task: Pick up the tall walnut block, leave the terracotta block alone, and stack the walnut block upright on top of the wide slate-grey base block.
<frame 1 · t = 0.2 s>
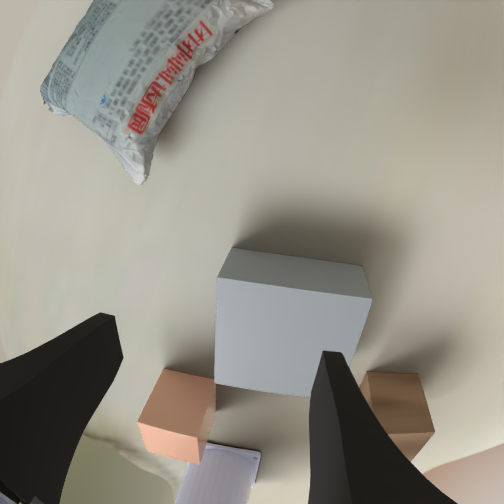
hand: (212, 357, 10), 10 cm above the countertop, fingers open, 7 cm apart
walnut block: (383, 391, 23), on the countertop
packaged food: (159, 61, 16), on the countertop
terracotta block: (190, 391, 26), on the countertop
slate base block: (288, 309, 21), on the countertop
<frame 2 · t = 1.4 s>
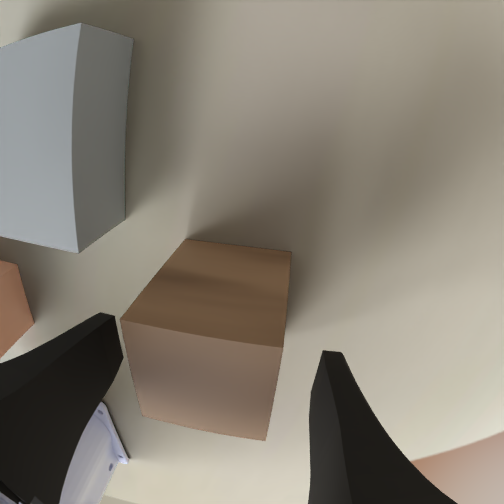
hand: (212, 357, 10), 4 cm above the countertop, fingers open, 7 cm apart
walnut block: (234, 291, 15), on the countertop
terracotta block: (5, 288, 17), on the countertop
slate base block: (60, 130, 13), on the countertop
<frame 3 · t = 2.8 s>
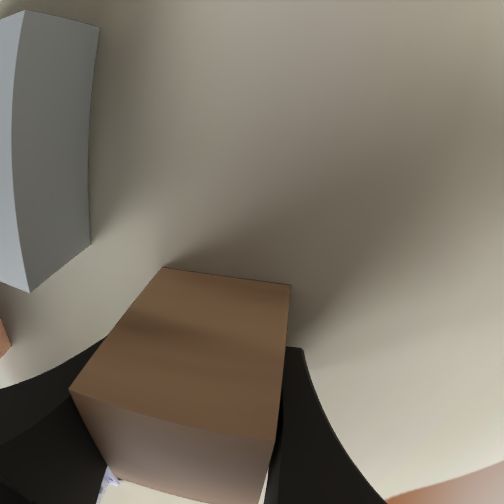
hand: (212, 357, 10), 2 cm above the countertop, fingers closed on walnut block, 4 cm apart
walnut block: (222, 328, 12), on the countertop, touching gripper
slate base block: (21, 137, 10), on the countertop
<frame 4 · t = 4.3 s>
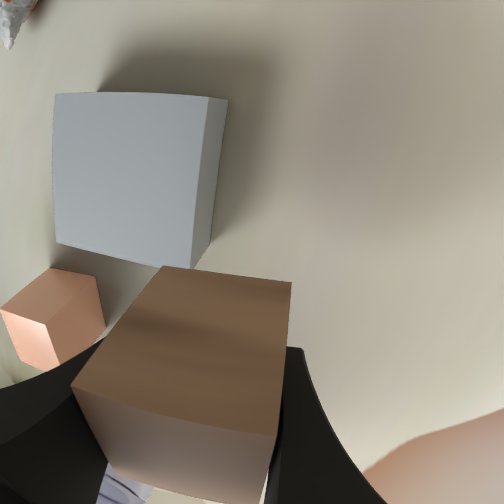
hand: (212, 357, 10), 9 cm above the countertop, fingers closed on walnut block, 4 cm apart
walnut block: (223, 326, 12), point 7 cm above the countertop, touching gripper
terracotta block: (77, 297, 22), on the countertop
slate base block: (150, 163, 17), on the countertop
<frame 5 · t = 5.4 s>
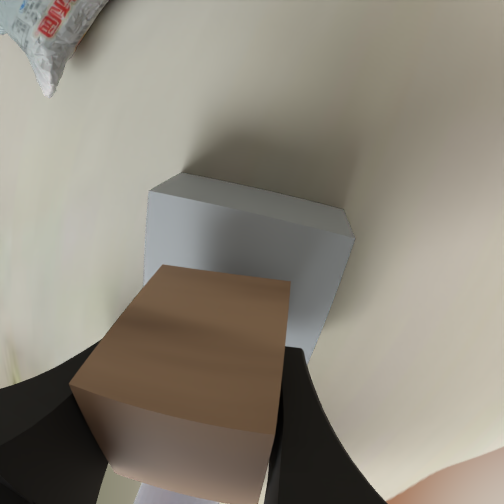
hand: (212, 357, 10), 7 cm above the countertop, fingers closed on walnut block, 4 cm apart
walnut block: (222, 325, 12), point 5 cm above the countertop, touching gripper
slate base block: (246, 261, 17), on the countertop
when the fingers open (7 cm above the countertop, at t = 5.9 s): walnut block drops 2 cm, resting on slate base block.
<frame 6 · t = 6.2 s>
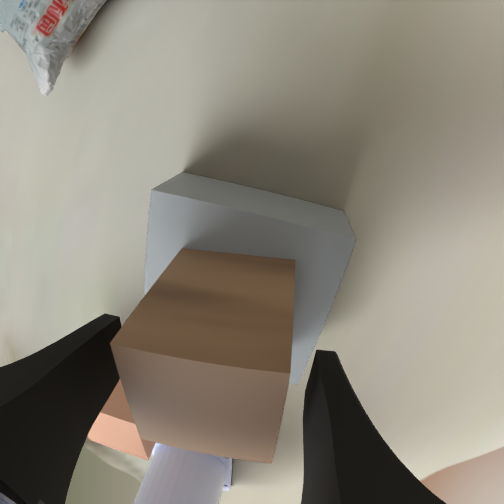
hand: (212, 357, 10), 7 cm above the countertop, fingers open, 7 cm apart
walnut block: (235, 302, 14), point 4 cm above the countertop, touching slate base block
terracotta block: (143, 371, 22), on the countertop
slate base block: (246, 260, 17), on the countertop, touching walnut block
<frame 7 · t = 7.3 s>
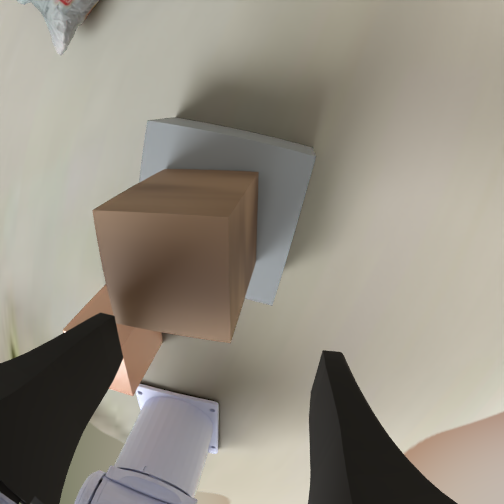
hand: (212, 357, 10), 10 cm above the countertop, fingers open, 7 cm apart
walnut block: (210, 215, 16), point 4 cm above the countertop, touching slate base block
terracotta block: (134, 314, 24), on the countertop
slate base block: (229, 195, 19), on the countertop, touching walnut block
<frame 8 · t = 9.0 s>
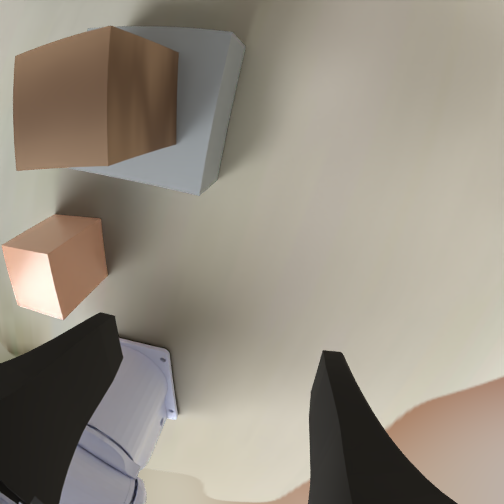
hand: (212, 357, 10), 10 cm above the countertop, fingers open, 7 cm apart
walnut block: (134, 100, 14), point 4 cm above the countertop
terracotta block: (80, 244, 22), on the countertop
slate base block: (167, 102, 17), on the countertop
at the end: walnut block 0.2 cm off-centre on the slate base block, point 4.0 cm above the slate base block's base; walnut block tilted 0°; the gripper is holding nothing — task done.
